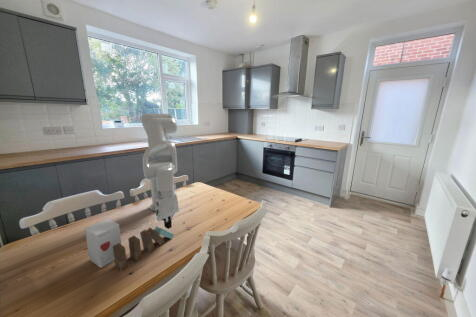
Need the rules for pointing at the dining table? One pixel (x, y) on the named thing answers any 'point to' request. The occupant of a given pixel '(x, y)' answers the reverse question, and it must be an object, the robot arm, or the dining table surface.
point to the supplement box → (102, 241)
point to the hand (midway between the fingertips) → (168, 227)
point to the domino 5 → (164, 232)
